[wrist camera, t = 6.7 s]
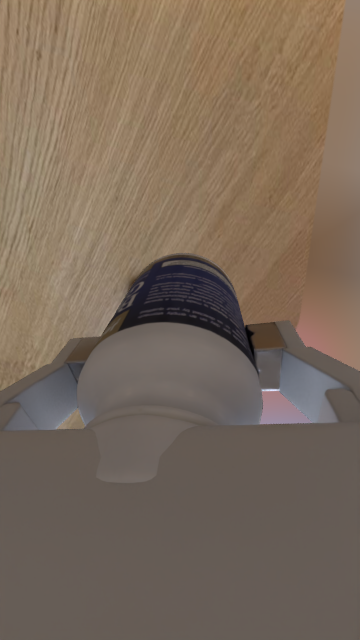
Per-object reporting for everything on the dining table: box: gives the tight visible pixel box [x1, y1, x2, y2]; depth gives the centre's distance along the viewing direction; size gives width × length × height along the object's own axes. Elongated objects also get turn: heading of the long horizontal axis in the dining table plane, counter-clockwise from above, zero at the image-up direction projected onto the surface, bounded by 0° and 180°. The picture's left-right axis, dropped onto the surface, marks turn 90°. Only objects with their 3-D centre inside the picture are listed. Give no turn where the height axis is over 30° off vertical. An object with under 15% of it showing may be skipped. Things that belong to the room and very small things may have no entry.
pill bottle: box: [77, 253, 263, 483], centre depth 9 cm, size 5×5×10 cm
